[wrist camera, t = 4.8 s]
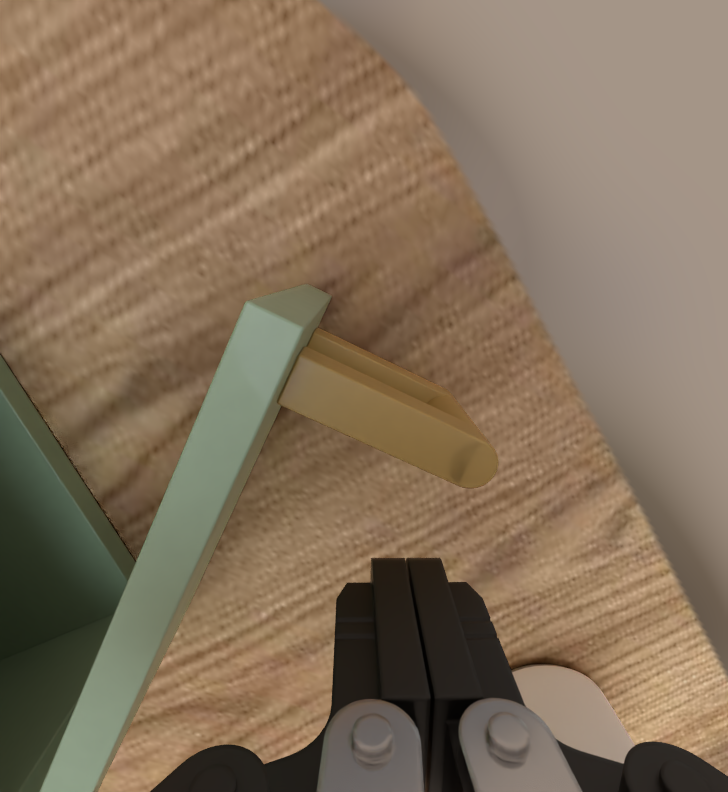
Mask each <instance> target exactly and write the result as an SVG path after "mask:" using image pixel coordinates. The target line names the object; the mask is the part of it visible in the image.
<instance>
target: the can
mask: <svg viewBox="0 0 728 792" xmlns="http://www.w3.org/2000/svg"><path fill="white" fill-rule="evenodd" d="M511 671H512V674H513V676H514V679H515V681H516V684H517V686H518V689H519V691H520V694H521V696H522V699H523V701H524V704H525V706H526V707H527V708H528V709H530V710H531V711H533V712H534V713H535V714H537V715H538V716H539V717H540V718H541V719H542V720H543V721H544V722H545V723H546V725H547V726H548V727H549V729H550V730H551V732H552V733H553V735H554V737H555V739H557V740H559V741H560V742H562V743H563V744H565V745H568V746H570V747H572V748H574V749H577V750H580V751H582V752H586V753H589V754H592V755H596V756H599V757H603V758H606V759H609V760H613V761H616V762H620V763H623V764H624V761H625V757H626V755H627V753H628V751H629V750H630V749H631V748H632V747H634V746H635V744H634V743H633V741H632V739H631V738H630V736H629V734H628V733H627V731H626V729H625V728H624V726H623V724H622V723H621V721H620V719H619V718H618V716H617V714H616V713H615V711H614V710H613V708H612V706H611V705H610V703H609V701H608V700H607V698H606V697H605V695H604V694H603V692H602V691H601V690H600V688H599V687H598V686H597V685H596V684H595V683H594V682H593V681H592V680H591V679H590V678H588V677H587V676H585V675H584V674H582V673H580V672H577V671H575V670H572V669H569V668H566V667H562V666H558V665H553V664H532V665H526V666H522V667H518V668H515V669H513V670H511Z"/></svg>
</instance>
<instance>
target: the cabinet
mask: <svg viewBox="0 0 728 792" xmlns="http://www.w3.org/2000/svg"><path fill="white" fill-rule="evenodd" d="M135 563H136V562H135V561H134V559H133V557H132V556H131V554H130V553H129V551H128V550H127V548H126V547H125V545H124V544H123V542H122V541H121V539H120V538H119V536H118V534H117V533H116V531H115V530H114V528H113V527H112V525H111V524H110V522H109V521H108V519H107V518H106V516H105V515H104V513H103V511H102V510H101V508H100V507H99V505H98V504H97V502H96V501H95V499H94V498H93V496H92V495H91V493H90V491H89V490H88V488H87V487H86V485H85V484H84V482H83V481H82V479H81V478H80V476H79V475H78V473H77V472H76V470H75V468H74V467H73V465H72V464H71V462H70V461H69V459H68V458H67V456H66V455H65V453H64V452H63V450H62V448H61V447H60V445H59V444H58V442H57V441H56V439H55V438H54V436H53V435H52V433H51V432H50V430H49V429H48V427H47V425H46V424H45V422H44V421H43V419H42V418H41V416H40V415H39V413H38V412H37V410H36V409H35V407H34V406H33V404H32V402H31V401H30V399H29V398H28V396H27V395H26V393H25V392H24V390H23V389H22V387H21V386H20V384H19V382H18V381H17V379H16V378H15V376H14V375H13V373H12V372H11V370H10V369H9V367H8V366H7V364H6V363H5V361H4V359H3V358H2V356H1V355H0V792H40V789H41V787H42V785H43V782H44V780H45V778H46V775H47V773H48V770H49V768H50V766H51V763H52V761H53V759H54V756H55V754H56V751H57V749H58V747H59V744H60V742H61V739H62V737H63V735H64V732H65V730H66V728H67V725H68V723H69V720H70V718H71V716H72V713H73V711H74V709H75V706H76V704H77V701H78V699H79V697H80V694H81V692H82V689H83V687H84V685H85V682H86V680H87V678H88V675H89V673H90V670H91V668H92V666H93V663H94V661H95V659H96V656H97V654H98V651H99V649H100V647H101V644H102V642H103V640H104V637H105V635H106V632H107V630H108V628H109V625H110V623H111V620H112V618H113V616H114V613H115V611H116V609H117V606H118V604H119V601H120V599H121V597H122V594H123V592H124V590H125V587H126V585H127V582H128V580H129V578H130V575H131V573H132V571H133V568H134V566H135Z"/></svg>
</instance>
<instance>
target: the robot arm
mask: <svg viewBox="0 0 728 792" xmlns="http://www.w3.org/2000/svg"><path fill="white" fill-rule="evenodd" d="M150 792H728V776H726V775H725V774H723V773H722V772H720V771H719V770H717V769H716V768H714V767H713V766H711V765H710V764H708V763H707V762H705V761H704V760H702V759H701V758H699V757H697V756H696V755H694V754H692V753H690V752H688V751H686V750H684V749H682V748H679V747H677V746H674V745H671V744H667V743H662V742H644V743H640V744H637V745H636V746H634V747H632V748H631V749H630V750H629V751H628V753H627V755H626V757H625V761H624V764H623V763H620V762H616V761H613V760H609V759H606V758H603V757H599V756H596V755H592V754H589V753H586V752H582V751H580V750H577V749H574V748H572V747H570V746H568V745H565V744H563V743H562V742H560V741H559V740H557V739H555V737H554V735H553V733H552V732H551V730H550V729H549V727H548V726H547V725H546V723H545V722H544V721H543V720H542V719H541V718H540V717H539V716H538V715H537V714H535V713H534V712H533V711H531V710H530V709H528V708H527V707H526V706H525V704H524V701H523V699H522V696H521V694H520V691H519V689H518V686H517V684H516V681H515V679H514V676H513V674H512V671H511V669H510V666H509V664H508V661H507V659H506V656H505V654H504V651H503V649H502V646H501V644H500V641H499V639H498V638H497V634H496V631H495V629H494V626H493V624H492V621H490V616H489V614H488V611H487V608H486V606H485V603H484V601H483V598H482V597H481V596H480V595H479V594H478V593H477V592H476V591H475V590H474V589H473V588H472V587H471V586H470V585H469V584H468V583H467V582H448V580H447V576H446V573H445V570H444V567H443V564H442V561H441V559H440V558H407V559H406V562H405V558H371V581H370V583H347V584H346V585H345V587H344V588H343V590H342V592H341V593H340V595H339V596H338V598H337V601H336V623H335V644H334V666H333V687H332V706H331V713H330V716H329V719H328V722H327V724H326V726H325V728H324V729H323V730H322V732H321V733H320V735H319V736H318V737H317V738H316V739H315V740H314V741H313V742H312V743H310V744H309V745H308V746H307V747H305V748H304V749H302V750H300V751H299V752H296V753H294V754H292V755H290V756H287V757H284V758H281V759H278V760H275V761H273V762H270V763H267V764H263V763H262V761H261V760H260V759H259V757H258V756H257V755H256V754H254V753H253V752H252V751H250V750H248V749H246V748H244V747H241V746H236V745H219V746H214V747H210V748H207V749H205V750H202V751H200V752H198V753H196V754H195V755H193V756H191V757H190V758H188V759H187V760H186V761H185V762H183V763H182V764H181V765H180V766H179V767H177V768H176V769H175V770H174V771H173V772H172V773H171V774H170V775H168V776H167V777H166V778H165V779H164V780H163V781H162V782H161V783H159V784H158V785H157V786H156V787H155V788H154V789H153V790H152V791H150Z"/></svg>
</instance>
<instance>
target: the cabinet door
mask: <svg viewBox="0 0 728 792" xmlns="http://www.w3.org/2000/svg"><path fill="white" fill-rule="evenodd" d="M331 298H332V296H331V295H329V294H327V293H325V292H323V291H321V290H319V289H317V288H315V287H313V286H311V285H309V284H304V285H300V286H297V287H293V288H290V289H286V290H283V291H279V292H276V293H272V294H269V295H265V296H262V297H258V298H255V299H252V300H248V301H246V302H245V304H244V306H243V309H242V311H241V314H240V316H239V318H238V321H237V323H236V325H235V328H234V330H233V333H232V335H231V337H230V340H229V342H228V344H227V347H226V349H225V352H224V354H223V356H222V359H221V361H220V363H219V366H218V368H217V371H216V373H215V375H214V378H213V380H212V383H211V385H210V387H209V390H208V392H207V394H206V397H205V399H204V402H203V404H202V406H201V409H200V411H199V413H198V416H197V418H196V421H195V423H194V425H193V428H192V430H191V432H190V435H189V437H188V440H187V442H186V444H185V447H184V449H183V452H182V454H181V456H180V459H179V461H178V463H177V466H176V468H175V471H174V473H173V475H172V478H171V480H170V482H169V485H168V487H167V490H166V492H165V494H164V497H163V499H162V501H161V504H160V506H159V509H158V511H157V513H156V516H155V518H154V521H153V523H152V525H151V528H150V530H149V532H148V535H147V537H146V540H145V542H144V544H143V547H142V549H141V551H140V554H139V556H138V559H137V561H136V563H135V566H134V568H133V571H132V573H131V575H130V578H129V580H128V582H127V585H126V587H125V590H124V592H123V594H122V597H121V599H120V601H119V604H118V606H117V609H116V611H115V613H114V616H113V618H112V620H111V623H110V625H109V628H108V630H107V632H106V635H105V637H104V640H103V642H102V644H101V647H100V649H99V651H98V654H97V656H96V659H95V661H94V663H93V666H92V668H91V670H90V673H89V675H88V678H87V680H86V682H85V685H84V687H83V689H82V692H81V694H80V697H79V699H78V701H77V704H76V706H75V709H74V711H73V713H72V716H71V718H70V720H69V723H68V725H67V728H66V730H65V732H64V735H63V737H62V739H61V742H60V744H59V747H58V749H57V751H56V754H55V756H54V759H53V761H52V763H51V766H50V768H49V770H48V773H47V775H46V778H45V780H44V782H43V785H42V787H41V789H40V792H98V790H99V788H100V786H101V784H102V781H103V779H104V777H105V775H106V773H107V771H108V769H109V767H110V765H111V763H112V761H113V759H114V757H115V755H116V753H117V751H118V749H119V747H120V745H121V743H122V741H123V739H124V737H125V735H126V733H127V731H128V729H129V727H130V725H131V723H132V721H133V718H134V716H135V714H136V712H137V710H138V708H139V706H140V704H141V702H142V700H143V698H144V696H145V694H146V692H147V690H148V688H149V686H150V684H151V682H152V680H153V678H154V676H155V674H156V672H157V670H158V668H159V666H160V664H161V662H162V660H163V658H164V655H165V653H166V651H167V649H168V647H169V645H170V643H171V641H172V639H173V637H174V635H175V633H176V631H177V629H178V627H179V625H180V623H181V621H182V619H183V617H184V615H185V613H186V611H187V609H188V607H189V605H190V603H191V600H192V598H193V596H194V594H195V592H196V590H197V587H198V585H199V583H200V581H201V579H202V577H203V574H204V572H205V570H206V568H207V566H208V564H209V561H210V559H211V557H212V555H213V553H214V551H215V548H216V546H217V544H218V542H219V540H220V538H221V535H222V533H223V531H224V529H225V527H226V525H227V523H228V520H229V518H230V516H231V514H232V512H233V510H234V507H235V505H236V503H237V501H238V499H239V497H240V494H241V492H242V490H243V488H244V486H245V484H246V481H247V479H248V477H249V475H250V473H251V471H252V468H253V466H254V464H255V462H256V460H257V458H258V455H259V453H260V451H261V449H262V447H263V445H264V442H265V440H266V438H267V436H268V434H269V432H270V430H271V427H272V425H273V423H274V421H275V419H276V417H277V414H278V412H279V410H280V408H281V406H283V407H285V408H288V409H290V410H292V411H294V412H296V413H299V414H301V415H303V416H305V417H307V418H310V419H312V420H314V421H316V422H318V423H321V424H323V425H325V426H327V427H330V428H332V429H334V430H336V431H338V432H341V433H343V434H345V435H347V436H349V437H352V438H354V439H356V440H358V441H360V442H363V443H365V444H367V445H369V446H371V447H374V448H376V449H378V450H380V451H382V452H385V453H387V454H389V455H391V456H393V457H396V458H398V459H400V460H402V461H405V462H407V463H409V464H411V465H413V466H416V467H418V468H420V469H422V470H424V471H427V472H429V473H431V474H433V475H435V476H438V477H440V478H442V479H444V480H446V481H449V482H451V483H453V484H455V485H458V486H460V487H463V488H478V487H481V486H483V485H485V484H486V483H488V482H489V481H490V480H491V479H492V478H493V477H494V475H495V473H496V471H497V468H498V456H497V453H496V451H495V449H494V448H493V447H492V445H491V444H490V443H489V441H488V440H487V439H486V438H485V436H484V435H483V434H482V432H481V431H480V430H479V429H478V427H477V426H476V425H475V424H474V422H473V421H472V420H471V418H470V417H469V416H468V415H467V413H466V412H465V411H464V410H463V408H462V407H461V406H460V404H459V403H458V402H457V401H456V399H455V398H454V397H453V395H452V394H451V393H450V392H449V391H448V390H447V389H445V388H443V387H441V386H439V385H436V384H434V383H432V382H430V381H428V380H426V379H424V378H422V377H420V376H418V375H416V374H414V373H412V372H409V371H407V370H405V369H403V368H401V367H399V366H397V365H395V364H393V363H391V362H389V361H387V360H385V359H382V358H380V357H378V356H376V355H374V354H372V353H370V352H368V351H366V350H364V349H362V348H360V347H357V346H355V345H353V344H351V343H349V342H347V341H345V340H343V339H341V338H339V337H337V336H335V335H333V334H330V333H328V332H326V331H324V330H322V329H320V328H318V326H319V324H320V321H321V319H322V317H323V315H324V313H325V311H326V308H327V306H328V304H329V302H330V300H331Z"/></svg>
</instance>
